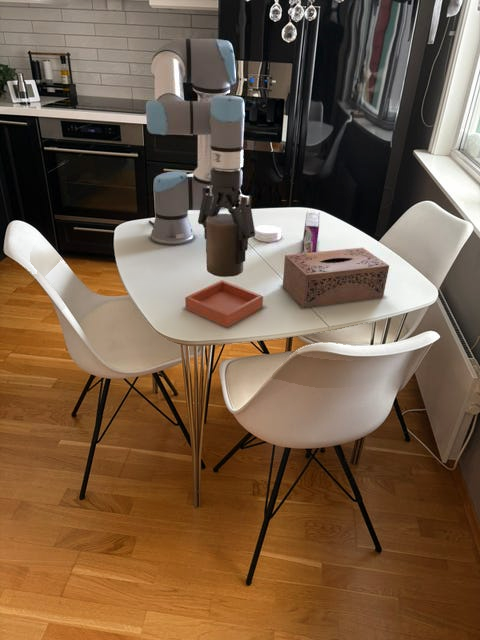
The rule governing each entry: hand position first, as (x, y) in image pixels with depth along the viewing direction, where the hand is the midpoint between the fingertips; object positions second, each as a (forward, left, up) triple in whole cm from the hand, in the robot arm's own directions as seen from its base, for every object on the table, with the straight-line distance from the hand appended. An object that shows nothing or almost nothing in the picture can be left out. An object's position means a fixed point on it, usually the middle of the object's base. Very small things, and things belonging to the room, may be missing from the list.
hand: (225, 256), depth 125 cm
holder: (0, 0, -15) cm, 15 cm away
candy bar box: (-3, +47, -9) cm, 48 cm away
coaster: (-25, +53, -15) cm, 61 cm away
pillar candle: (0, 0, -4) cm, 4 cm away
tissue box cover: (+17, +30, -15) cm, 37 cm away
